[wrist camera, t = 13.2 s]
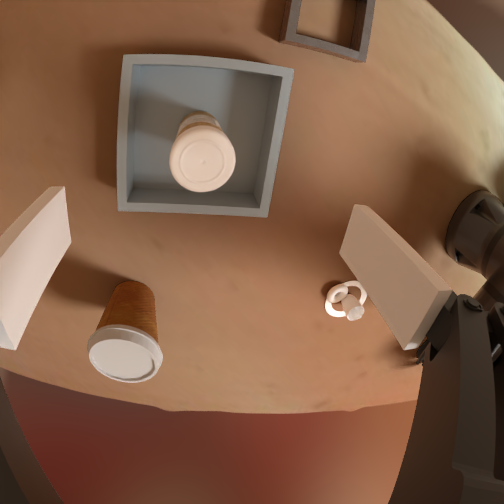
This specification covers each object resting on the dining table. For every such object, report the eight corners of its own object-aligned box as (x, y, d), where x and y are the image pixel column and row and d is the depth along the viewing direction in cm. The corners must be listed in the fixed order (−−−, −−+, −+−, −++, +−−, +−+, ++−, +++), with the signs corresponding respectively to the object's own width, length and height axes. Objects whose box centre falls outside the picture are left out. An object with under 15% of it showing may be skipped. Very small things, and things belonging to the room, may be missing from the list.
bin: (280, 69, 29) (294, 69, 25) (258, 199, 37) (267, 217, 33) (133, 57, 26) (123, 54, 21) (126, 193, 34) (117, 211, 30)
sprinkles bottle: (215, 152, 32) (229, 197, 21) (174, 147, 31) (164, 190, 20) (223, 113, 30) (242, 134, 19) (181, 107, 29) (173, 125, 18)
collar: (365, -3, 25) (376, -6, 22) (355, 62, 29) (365, 62, 27) (291, -27, 22) (297, -34, 20) (278, 42, 27) (285, 39, 25)
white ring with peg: (319, 286, 47) (328, 303, 44) (364, 268, 47) (375, 283, 44) (327, 321, 52) (335, 337, 49) (367, 303, 52) (377, 319, 49)
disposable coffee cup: (166, 322, 45) (164, 386, 36) (107, 318, 43) (94, 381, 33) (165, 272, 41) (160, 338, 31) (98, 269, 38) (77, 332, 28)
